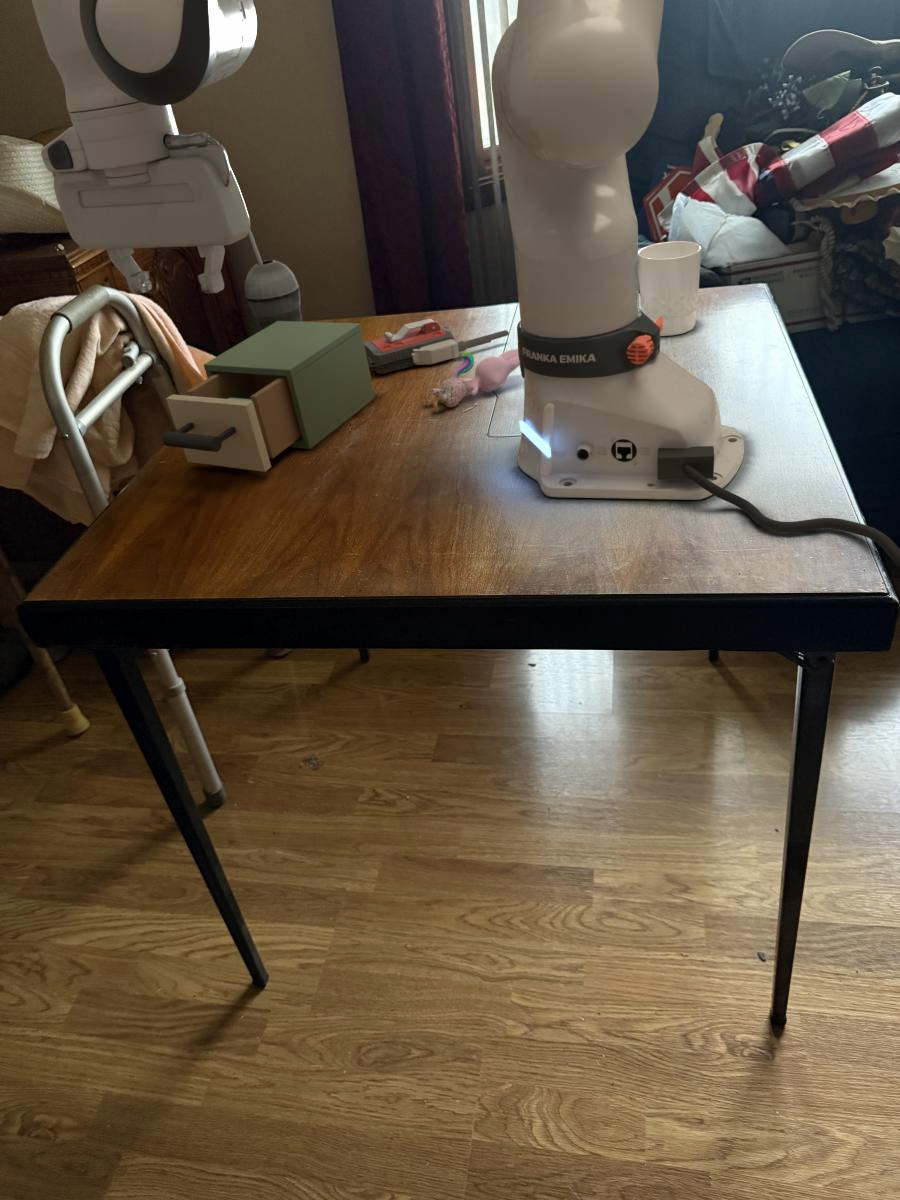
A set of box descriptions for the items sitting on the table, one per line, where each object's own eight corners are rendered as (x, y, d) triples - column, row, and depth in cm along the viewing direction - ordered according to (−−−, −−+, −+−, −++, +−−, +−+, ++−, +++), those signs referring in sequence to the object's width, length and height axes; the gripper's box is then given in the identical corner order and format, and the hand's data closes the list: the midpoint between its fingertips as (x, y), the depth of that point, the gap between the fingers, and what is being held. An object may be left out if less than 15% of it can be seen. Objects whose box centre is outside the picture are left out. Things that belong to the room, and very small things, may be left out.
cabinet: (310, 449, 101) (289, 369, 96) (226, 440, 107) (202, 364, 101) (375, 397, 111) (360, 323, 106) (295, 391, 117) (277, 320, 111)
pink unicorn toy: (446, 427, 104) (551, 372, 107) (431, 383, 100) (540, 327, 103) (424, 411, 109) (525, 359, 111) (409, 368, 105) (514, 315, 108)
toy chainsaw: (376, 383, 115) (512, 344, 120) (369, 351, 112) (509, 312, 117) (356, 364, 122) (486, 328, 127) (350, 333, 119) (483, 297, 124)
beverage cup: (309, 385, 118) (271, 229, 106) (260, 388, 120) (217, 235, 108) (326, 365, 124) (292, 214, 112) (278, 368, 125) (240, 220, 114)
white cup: (652, 342, 113) (651, 263, 108) (629, 324, 120) (628, 248, 114) (709, 330, 114) (712, 250, 108) (684, 313, 120) (685, 237, 115)
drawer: (240, 491, 93) (219, 423, 88) (162, 479, 98) (138, 414, 93) (332, 419, 105) (318, 356, 100) (258, 412, 110) (241, 352, 106)
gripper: (240, 123, 78) (279, 280, 86) (75, 140, 87) (124, 282, 95) (196, 137, 74) (241, 302, 82) (27, 153, 82) (83, 301, 90)
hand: (177, 291), depth 88 cm, fingers open, 8 cm apart
